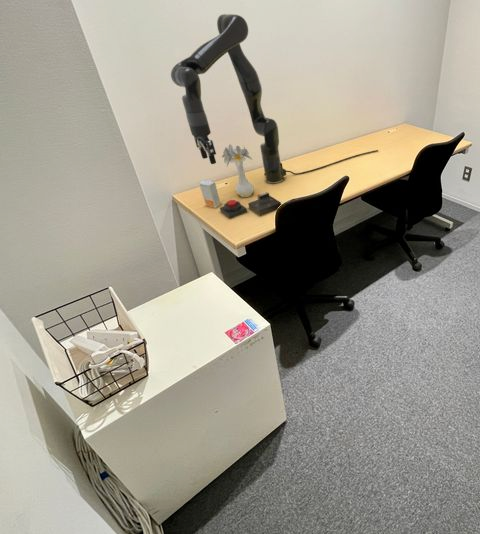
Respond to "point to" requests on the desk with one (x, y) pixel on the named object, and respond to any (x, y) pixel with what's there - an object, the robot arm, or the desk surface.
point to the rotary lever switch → (264, 206)
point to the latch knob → (263, 198)
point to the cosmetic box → (210, 193)
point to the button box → (233, 210)
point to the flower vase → (239, 169)
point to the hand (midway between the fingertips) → (209, 160)
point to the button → (231, 203)
